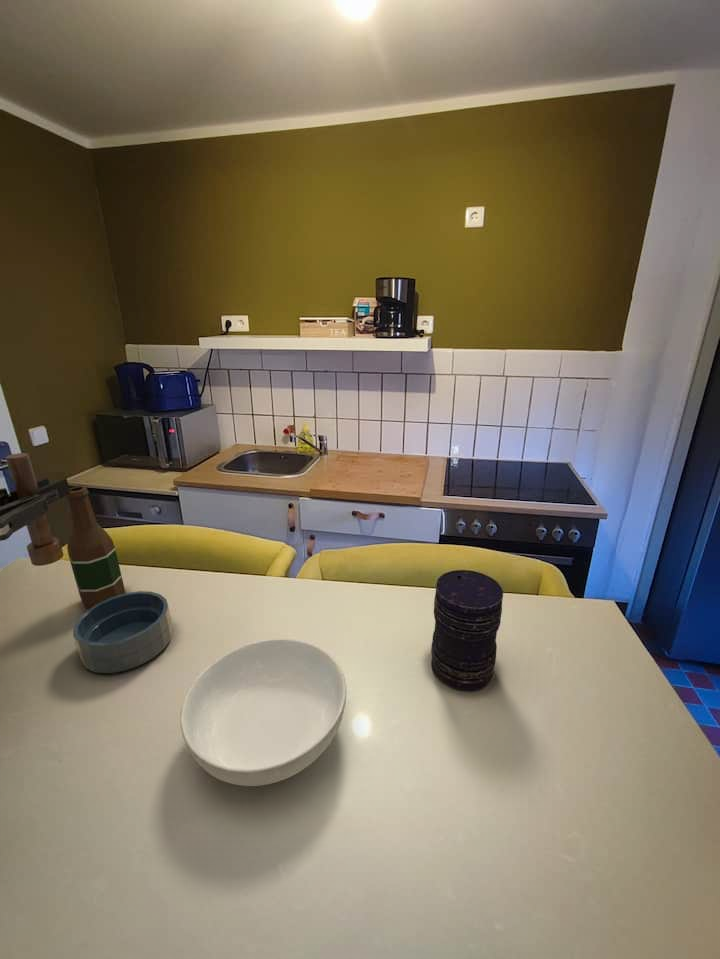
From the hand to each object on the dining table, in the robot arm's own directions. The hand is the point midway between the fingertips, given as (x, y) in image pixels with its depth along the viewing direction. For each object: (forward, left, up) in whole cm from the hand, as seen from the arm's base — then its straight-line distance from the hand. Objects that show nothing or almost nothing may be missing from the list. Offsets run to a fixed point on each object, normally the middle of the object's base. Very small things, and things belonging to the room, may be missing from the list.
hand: (57, 485), depth 73 cm
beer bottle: (-2, +4, -26) cm, 27 cm away
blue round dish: (+14, -3, -26) cm, 30 cm away
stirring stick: (+1, -5, -11) cm, 12 cm away
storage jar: (+68, +13, -26) cm, 74 cm away
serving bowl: (+46, -8, -26) cm, 54 cm away
